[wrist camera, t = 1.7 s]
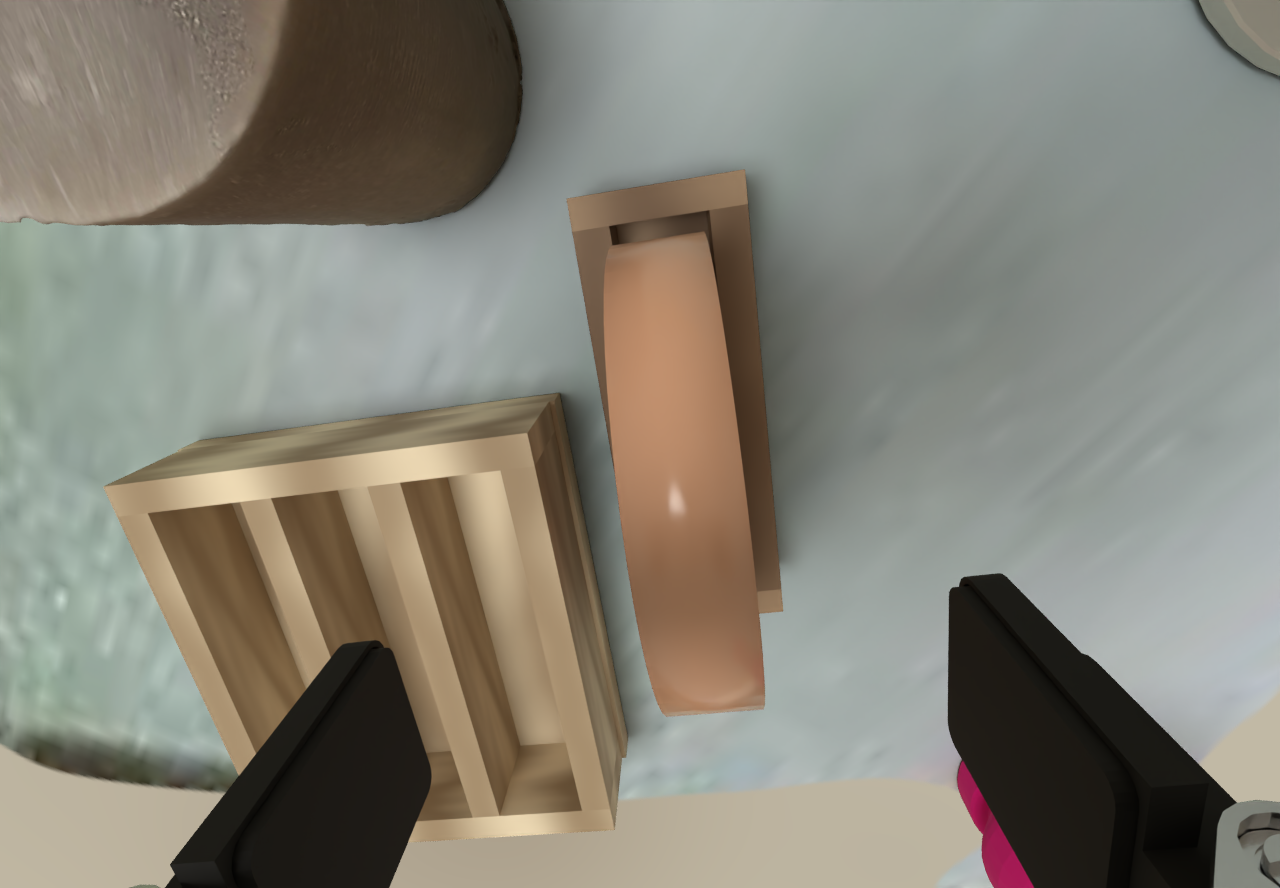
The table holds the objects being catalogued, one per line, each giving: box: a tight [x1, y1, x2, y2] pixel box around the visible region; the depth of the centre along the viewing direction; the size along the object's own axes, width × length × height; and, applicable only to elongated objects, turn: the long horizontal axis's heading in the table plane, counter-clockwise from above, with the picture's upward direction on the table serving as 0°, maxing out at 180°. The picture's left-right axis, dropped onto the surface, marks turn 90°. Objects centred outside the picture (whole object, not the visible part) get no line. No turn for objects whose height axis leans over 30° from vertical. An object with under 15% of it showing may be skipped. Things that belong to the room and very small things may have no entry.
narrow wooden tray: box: [567, 169, 783, 614], centre depth 24 cm, size 6×16×3 cm, turn 9°
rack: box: [104, 393, 628, 842], centre depth 27 cm, size 16×18×5 cm
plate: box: [604, 231, 765, 717], centre depth 18 cm, size 2×13×13 cm, turn 9°
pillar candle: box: [0, 0, 522, 226], centre depth 15 cm, size 10×10×15 cm
